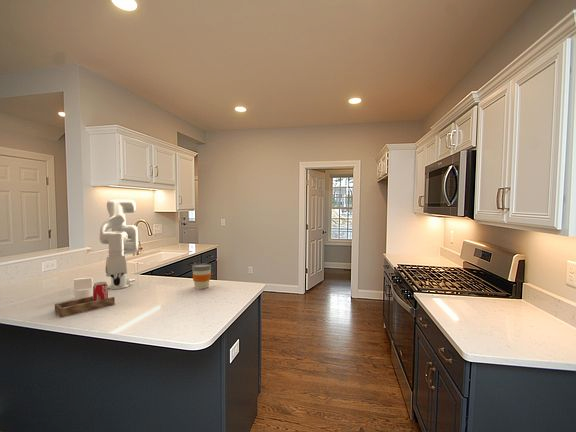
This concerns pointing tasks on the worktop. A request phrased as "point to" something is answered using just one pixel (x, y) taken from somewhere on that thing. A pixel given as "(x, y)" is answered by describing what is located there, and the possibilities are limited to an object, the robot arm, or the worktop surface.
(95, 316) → the worktop surface
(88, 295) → the cylinder with rectangular tab
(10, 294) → the worktop surface
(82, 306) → the u rest
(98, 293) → the soda can
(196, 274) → the reusable coffee cup
